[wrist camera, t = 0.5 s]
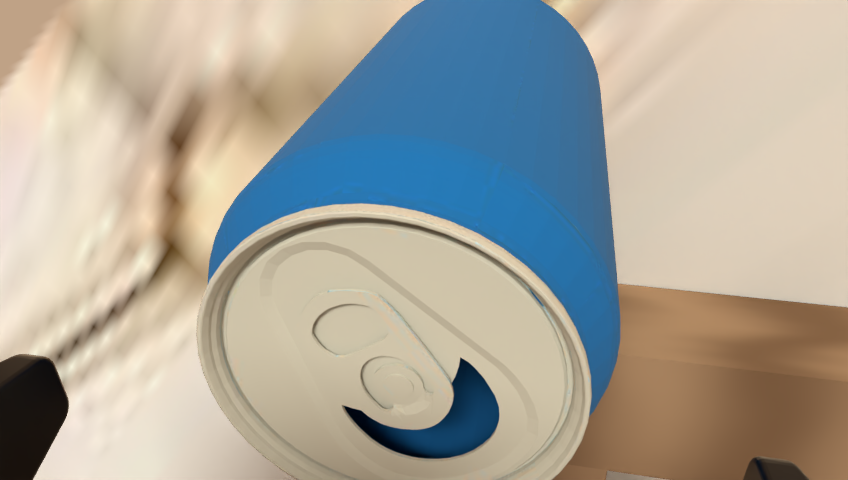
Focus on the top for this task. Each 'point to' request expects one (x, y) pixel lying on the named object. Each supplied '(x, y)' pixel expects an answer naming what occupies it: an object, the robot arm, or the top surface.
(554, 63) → the beverage can
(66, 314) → the top surface
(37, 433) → the robot arm
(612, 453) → the can holder
